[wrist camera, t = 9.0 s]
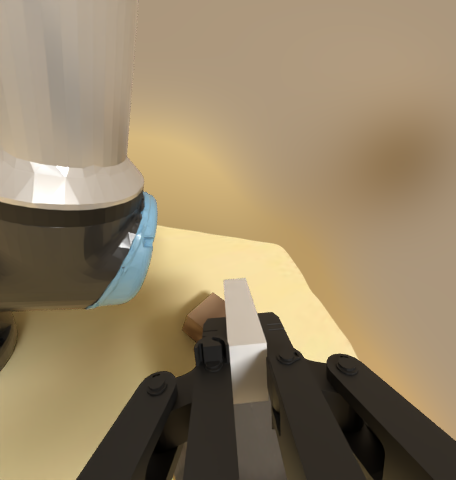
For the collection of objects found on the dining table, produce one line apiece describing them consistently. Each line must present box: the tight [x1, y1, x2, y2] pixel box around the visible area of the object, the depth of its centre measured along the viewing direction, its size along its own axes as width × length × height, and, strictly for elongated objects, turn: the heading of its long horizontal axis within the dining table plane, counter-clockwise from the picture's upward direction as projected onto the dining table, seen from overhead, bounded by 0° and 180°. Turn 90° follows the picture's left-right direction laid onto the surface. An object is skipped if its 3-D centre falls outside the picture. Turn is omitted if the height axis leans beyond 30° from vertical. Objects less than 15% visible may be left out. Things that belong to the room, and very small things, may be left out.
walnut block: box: [182, 293, 226, 342], centre depth 37 cm, size 7×7×4 cm
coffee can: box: [172, 392, 287, 480], centre depth 20 cm, size 10×10×14 cm
